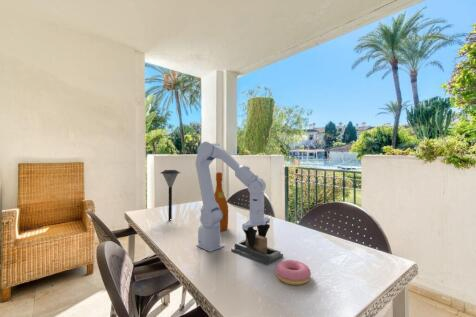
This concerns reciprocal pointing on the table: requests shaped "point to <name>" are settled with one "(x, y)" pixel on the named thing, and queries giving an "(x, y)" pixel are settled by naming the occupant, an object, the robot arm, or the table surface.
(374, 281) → the table surface
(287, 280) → the doughnut
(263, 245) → the door panel
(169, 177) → the solar garden light
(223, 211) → the wine bottle
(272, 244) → the table surface
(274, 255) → the floor track
